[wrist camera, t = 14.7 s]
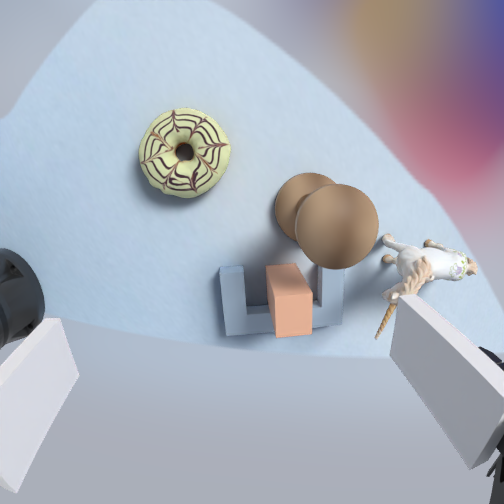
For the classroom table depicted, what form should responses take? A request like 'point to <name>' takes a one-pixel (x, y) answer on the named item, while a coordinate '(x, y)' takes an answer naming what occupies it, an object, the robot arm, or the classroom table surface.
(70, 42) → the classroom table surface
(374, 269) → the classroom table surface
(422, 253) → the unicorn figurine
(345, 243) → the bobbin
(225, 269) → the u-shaped block
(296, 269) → the tab
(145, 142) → the decorated donut
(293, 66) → the classroom table surface
